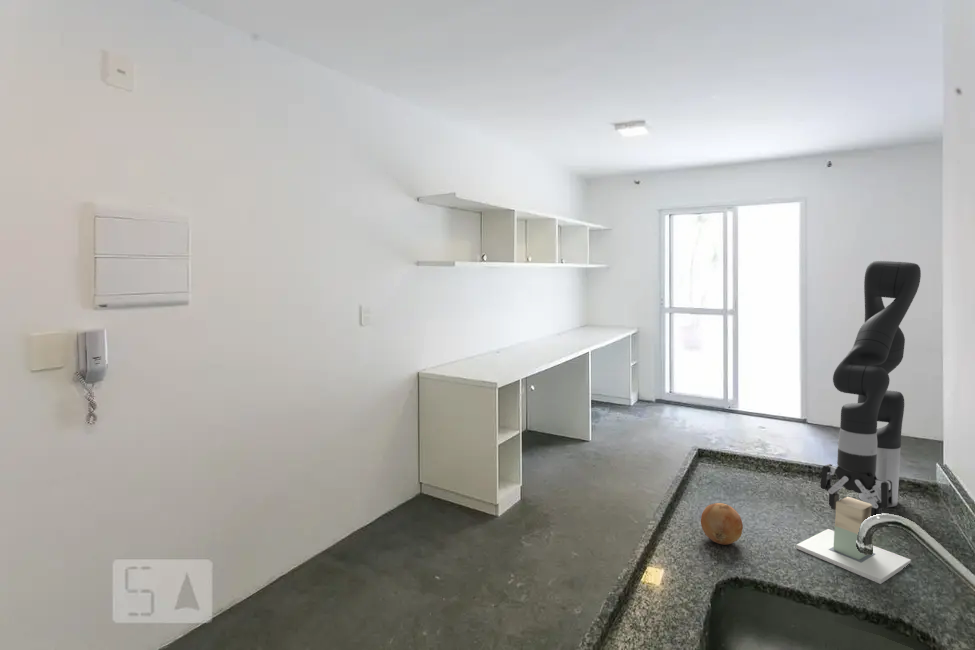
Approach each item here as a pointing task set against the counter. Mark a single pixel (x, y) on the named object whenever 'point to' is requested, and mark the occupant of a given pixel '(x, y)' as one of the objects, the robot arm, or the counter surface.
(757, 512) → the counter surface
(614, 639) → the counter surface
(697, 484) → the counter surface
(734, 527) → the onion
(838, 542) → the sage block
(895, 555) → the baseplate
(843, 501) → the beech block
